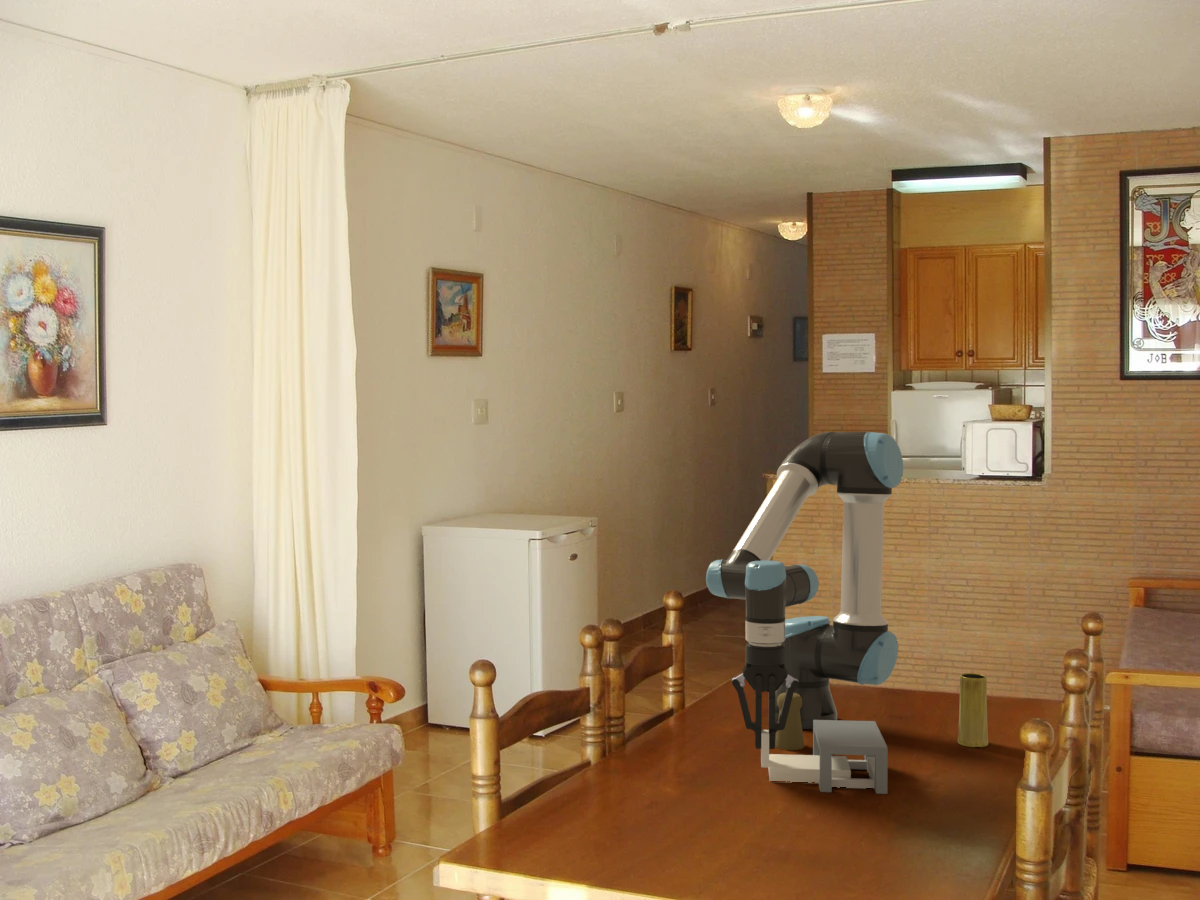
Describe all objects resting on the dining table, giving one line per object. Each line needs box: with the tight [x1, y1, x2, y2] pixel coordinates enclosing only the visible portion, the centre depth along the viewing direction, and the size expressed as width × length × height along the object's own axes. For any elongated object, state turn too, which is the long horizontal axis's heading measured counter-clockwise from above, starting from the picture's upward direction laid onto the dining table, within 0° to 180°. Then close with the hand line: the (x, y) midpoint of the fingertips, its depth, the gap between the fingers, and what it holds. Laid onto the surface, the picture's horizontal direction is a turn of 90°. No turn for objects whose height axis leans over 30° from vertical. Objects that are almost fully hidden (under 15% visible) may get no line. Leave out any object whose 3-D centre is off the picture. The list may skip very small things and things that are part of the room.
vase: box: [957, 672, 989, 748], centre depth 246 cm, size 6×6×14 cm
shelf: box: [812, 719, 889, 795], centre depth 224 cm, size 18×12×8 cm, turn 174°
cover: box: [768, 753, 852, 784], centre depth 226 cm, size 9×15×3 cm, turn 84°
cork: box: [775, 693, 805, 751], centre depth 245 cm, size 6×6×11 cm
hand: (765, 765), depth 226 cm, fingers closed
